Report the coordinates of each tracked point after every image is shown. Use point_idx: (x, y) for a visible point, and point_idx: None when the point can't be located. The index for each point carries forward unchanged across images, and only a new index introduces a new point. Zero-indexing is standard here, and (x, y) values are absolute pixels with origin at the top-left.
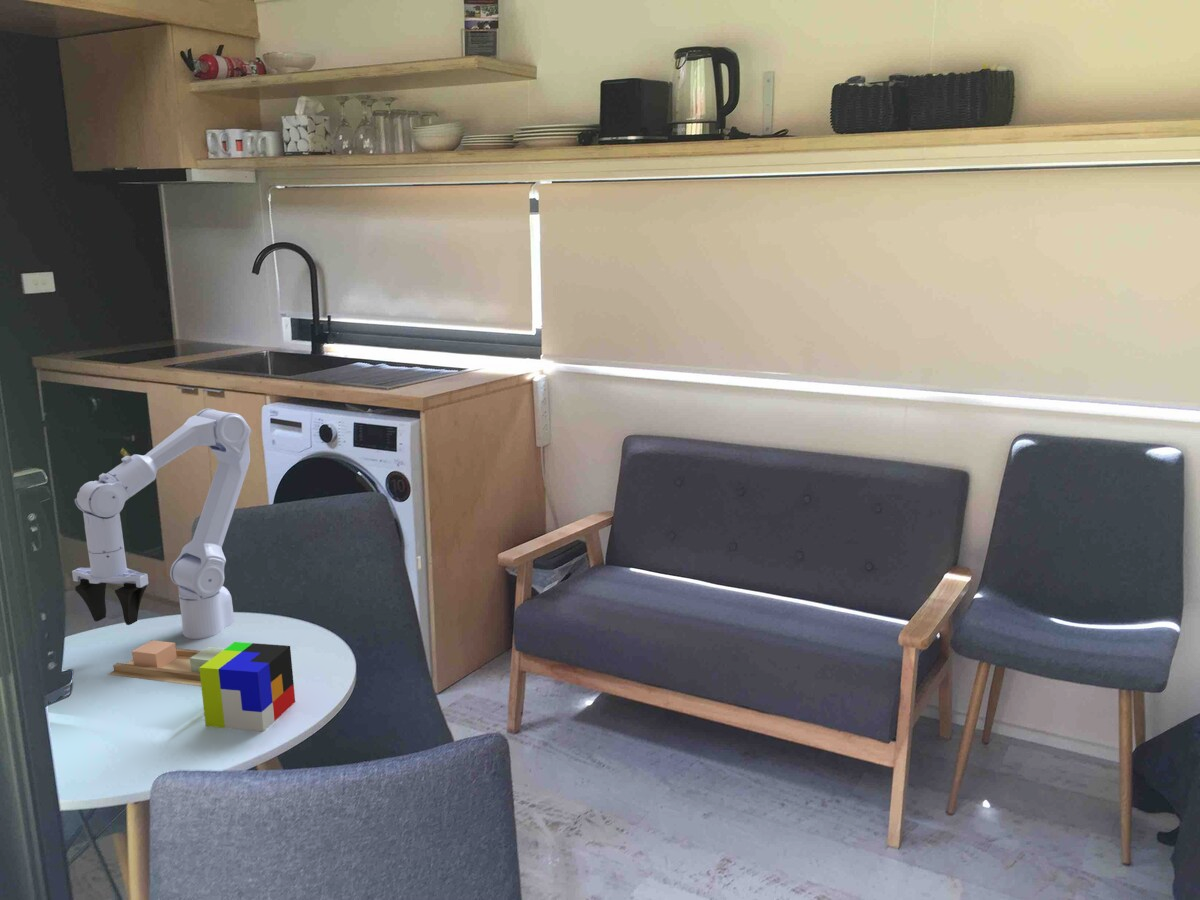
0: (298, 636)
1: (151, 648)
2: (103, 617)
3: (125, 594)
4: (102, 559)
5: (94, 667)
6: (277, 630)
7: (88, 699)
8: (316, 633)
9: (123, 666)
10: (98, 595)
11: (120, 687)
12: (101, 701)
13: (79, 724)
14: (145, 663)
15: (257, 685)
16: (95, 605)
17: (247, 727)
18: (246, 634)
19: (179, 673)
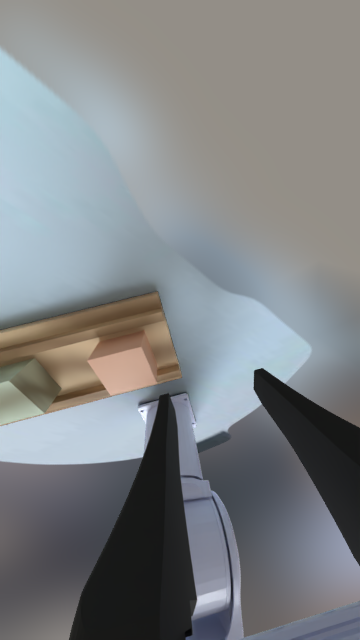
0: (79, 452)
1: (121, 368)
2: (254, 386)
3: (81, 614)
4: None
5: (220, 309)
6: (113, 448)
7: (112, 219)
8: (71, 461)
9: (139, 317)
10: (314, 459)
11: (113, 284)
12: (79, 226)
13: None
14: (118, 341)
15: None
16: (290, 414)
17: None
18: (132, 432)
19: (21, 347)
